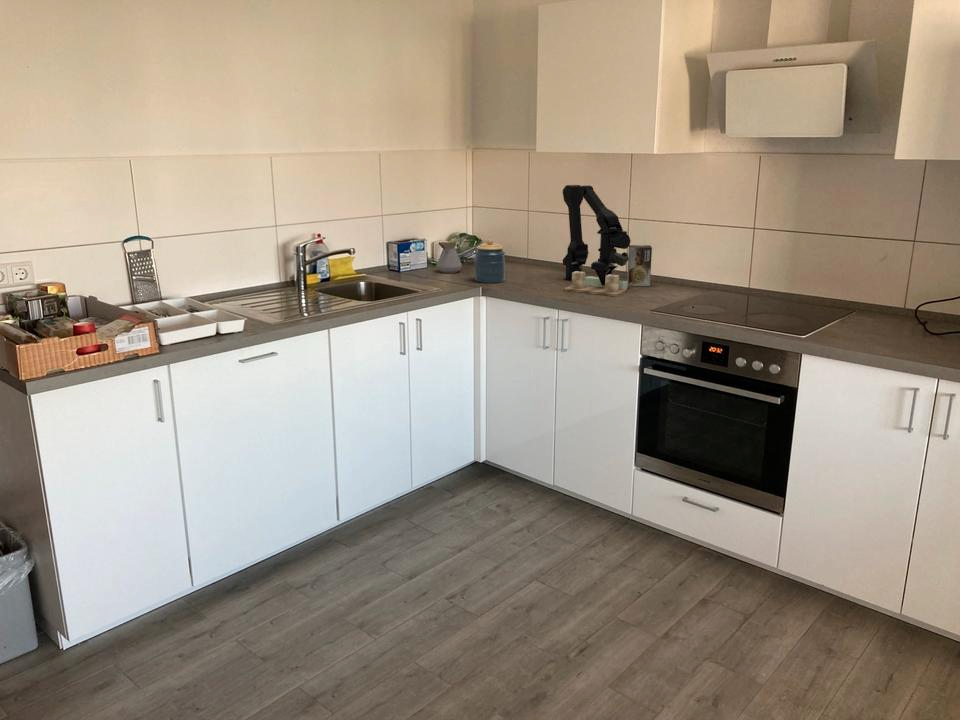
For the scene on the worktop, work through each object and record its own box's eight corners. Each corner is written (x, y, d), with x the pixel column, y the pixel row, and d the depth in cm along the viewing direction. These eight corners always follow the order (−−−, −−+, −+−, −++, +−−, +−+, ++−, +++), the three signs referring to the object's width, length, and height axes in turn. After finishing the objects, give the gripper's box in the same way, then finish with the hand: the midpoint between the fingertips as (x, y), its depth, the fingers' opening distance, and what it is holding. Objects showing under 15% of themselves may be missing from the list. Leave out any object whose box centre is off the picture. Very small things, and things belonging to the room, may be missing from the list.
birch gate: (563, 290, 304) (564, 273, 302) (574, 286, 313) (575, 269, 311) (616, 296, 293) (617, 278, 291) (626, 292, 302) (627, 274, 300)
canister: (503, 277, 331) (504, 236, 326) (506, 283, 319) (506, 240, 314) (473, 278, 331) (474, 236, 326) (474, 283, 318) (474, 240, 313)
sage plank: (583, 285, 317) (584, 277, 316) (588, 284, 320) (589, 276, 319) (622, 291, 306) (622, 282, 305) (627, 289, 309) (627, 281, 308)
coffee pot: (440, 269, 352) (440, 236, 348) (464, 270, 349) (464, 237, 345) (426, 277, 332) (425, 242, 328) (451, 278, 329) (451, 243, 325)
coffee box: (648, 283, 320) (651, 245, 315) (650, 286, 314) (652, 247, 309) (626, 283, 321) (628, 244, 316) (627, 286, 315) (629, 246, 310)
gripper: (618, 250, 296) (616, 290, 301) (634, 244, 312) (631, 282, 316) (591, 248, 302) (589, 287, 306) (608, 242, 317) (606, 280, 321)
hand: (605, 284), depth 312 cm, fingers open, 5 cm apart
